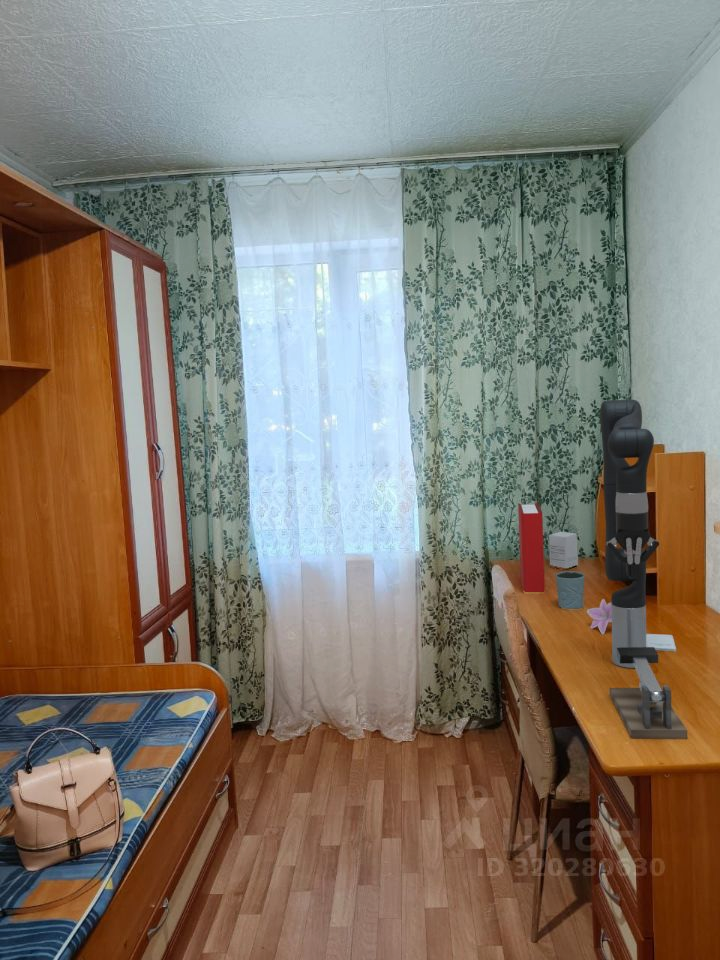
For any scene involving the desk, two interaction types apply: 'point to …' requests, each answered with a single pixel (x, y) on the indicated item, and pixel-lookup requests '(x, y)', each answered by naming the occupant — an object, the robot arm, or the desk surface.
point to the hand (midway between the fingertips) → (632, 577)
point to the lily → (601, 616)
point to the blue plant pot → (570, 589)
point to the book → (531, 547)
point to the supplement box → (563, 549)
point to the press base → (647, 714)
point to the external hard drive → (660, 642)
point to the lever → (643, 668)
